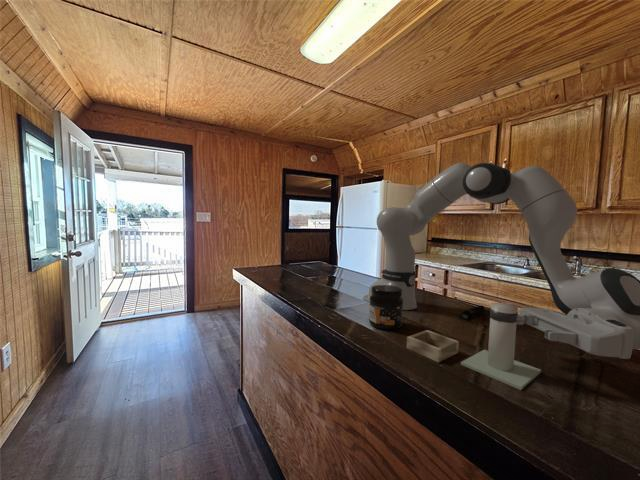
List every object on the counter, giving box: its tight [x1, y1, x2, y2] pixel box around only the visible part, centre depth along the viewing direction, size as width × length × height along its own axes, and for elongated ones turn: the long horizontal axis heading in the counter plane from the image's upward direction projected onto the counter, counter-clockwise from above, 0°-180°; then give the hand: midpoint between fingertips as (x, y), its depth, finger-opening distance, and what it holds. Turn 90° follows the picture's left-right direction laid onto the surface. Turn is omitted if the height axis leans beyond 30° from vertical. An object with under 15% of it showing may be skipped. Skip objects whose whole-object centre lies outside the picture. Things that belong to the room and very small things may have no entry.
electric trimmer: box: [459, 305, 486, 322], centre depth 101 cm, size 4×16×3 cm, turn 129°
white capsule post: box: [487, 302, 519, 372], centre depth 63 cm, size 5×5×14 cm
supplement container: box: [368, 285, 404, 331], centre depth 89 cm, size 10×10×12 cm
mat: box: [460, 349, 542, 391], centre depth 64 cm, size 12×12×1 cm
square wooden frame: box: [406, 329, 460, 363], centre depth 72 cm, size 9×9×3 cm
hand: (529, 327), depth 63 cm, fingers open, 8 cm apart
